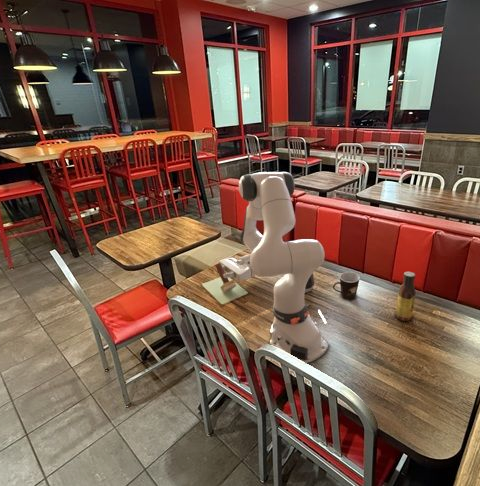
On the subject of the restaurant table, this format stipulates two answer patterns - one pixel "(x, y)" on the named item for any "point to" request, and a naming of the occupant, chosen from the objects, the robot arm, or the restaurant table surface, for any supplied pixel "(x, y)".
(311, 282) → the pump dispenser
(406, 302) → the sauce bottle
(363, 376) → the restaurant table surface
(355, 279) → the coffee mug
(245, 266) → the robot arm
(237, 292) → the scrub mat
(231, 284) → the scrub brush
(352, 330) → the restaurant table surface
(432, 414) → the restaurant table surface
